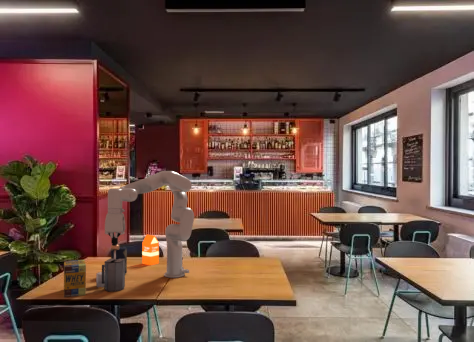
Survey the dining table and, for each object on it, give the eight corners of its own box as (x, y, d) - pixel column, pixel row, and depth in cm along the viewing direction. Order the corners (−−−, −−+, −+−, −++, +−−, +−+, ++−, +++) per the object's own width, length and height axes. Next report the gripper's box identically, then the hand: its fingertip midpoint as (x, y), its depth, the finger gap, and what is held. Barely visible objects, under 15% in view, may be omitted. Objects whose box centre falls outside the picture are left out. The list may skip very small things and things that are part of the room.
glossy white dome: (111, 284, 224) (111, 271, 225) (106, 287, 217) (106, 274, 218) (99, 284, 225) (99, 271, 225) (94, 287, 218) (94, 274, 218)
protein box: (63, 297, 200) (63, 266, 200) (63, 289, 214) (64, 260, 214) (85, 295, 204) (86, 265, 204) (84, 287, 218) (84, 259, 218)
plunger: (123, 267, 218) (123, 244, 218) (119, 271, 211) (119, 246, 211) (110, 267, 219) (110, 243, 219) (105, 270, 211) (105, 246, 212)
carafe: (126, 286, 219) (127, 258, 220) (120, 291, 209) (120, 262, 210) (105, 286, 220) (105, 258, 220) (98, 291, 210) (98, 262, 210)
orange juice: (150, 261, 283) (150, 233, 283) (159, 263, 278) (159, 234, 278) (141, 263, 277) (142, 235, 277) (150, 265, 272) (150, 236, 272)
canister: (122, 276, 240) (122, 247, 241) (107, 276, 242) (108, 246, 243) (129, 273, 250) (129, 244, 250) (115, 272, 252) (115, 244, 252)
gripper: (130, 210, 218) (130, 244, 218) (104, 210, 219) (103, 243, 219) (126, 212, 211) (125, 246, 211) (98, 211, 212) (98, 246, 212)
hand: (114, 245), depth 215 cm, fingers closed
